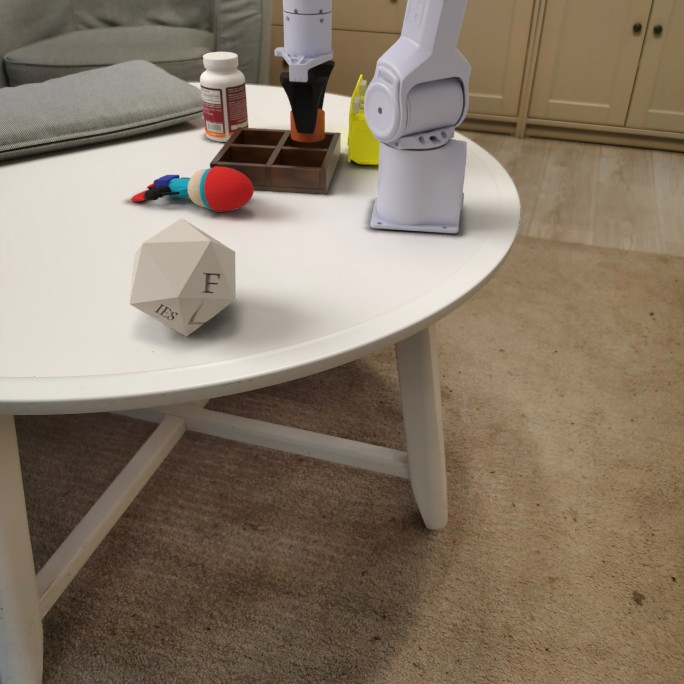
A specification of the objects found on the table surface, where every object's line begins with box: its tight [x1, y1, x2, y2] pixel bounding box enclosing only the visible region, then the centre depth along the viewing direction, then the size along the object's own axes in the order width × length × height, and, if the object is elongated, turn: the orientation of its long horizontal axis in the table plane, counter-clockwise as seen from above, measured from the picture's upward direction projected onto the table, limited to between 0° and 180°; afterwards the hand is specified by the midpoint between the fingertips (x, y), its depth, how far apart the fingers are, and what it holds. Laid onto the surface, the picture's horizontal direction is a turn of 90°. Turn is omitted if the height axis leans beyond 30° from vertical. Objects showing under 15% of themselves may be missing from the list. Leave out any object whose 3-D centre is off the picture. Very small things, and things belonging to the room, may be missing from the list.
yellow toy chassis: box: [347, 74, 380, 166], centre depth 96 cm, size 16×6×8 cm, turn 173°
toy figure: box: [130, 166, 255, 213], centre depth 81 cm, size 8×5×15 cm
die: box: [129, 217, 237, 338], centre depth 59 cm, size 8×9×10 cm
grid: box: [209, 127, 342, 195], centre depth 90 cm, size 14×14×3 cm
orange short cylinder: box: [289, 108, 326, 143], centre depth 91 cm, size 4×4×3 cm
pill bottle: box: [199, 51, 250, 143], centre depth 99 cm, size 6×6×11 cm
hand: (308, 126), depth 91 cm, fingers closed on orange short cylinder, 4 cm apart
